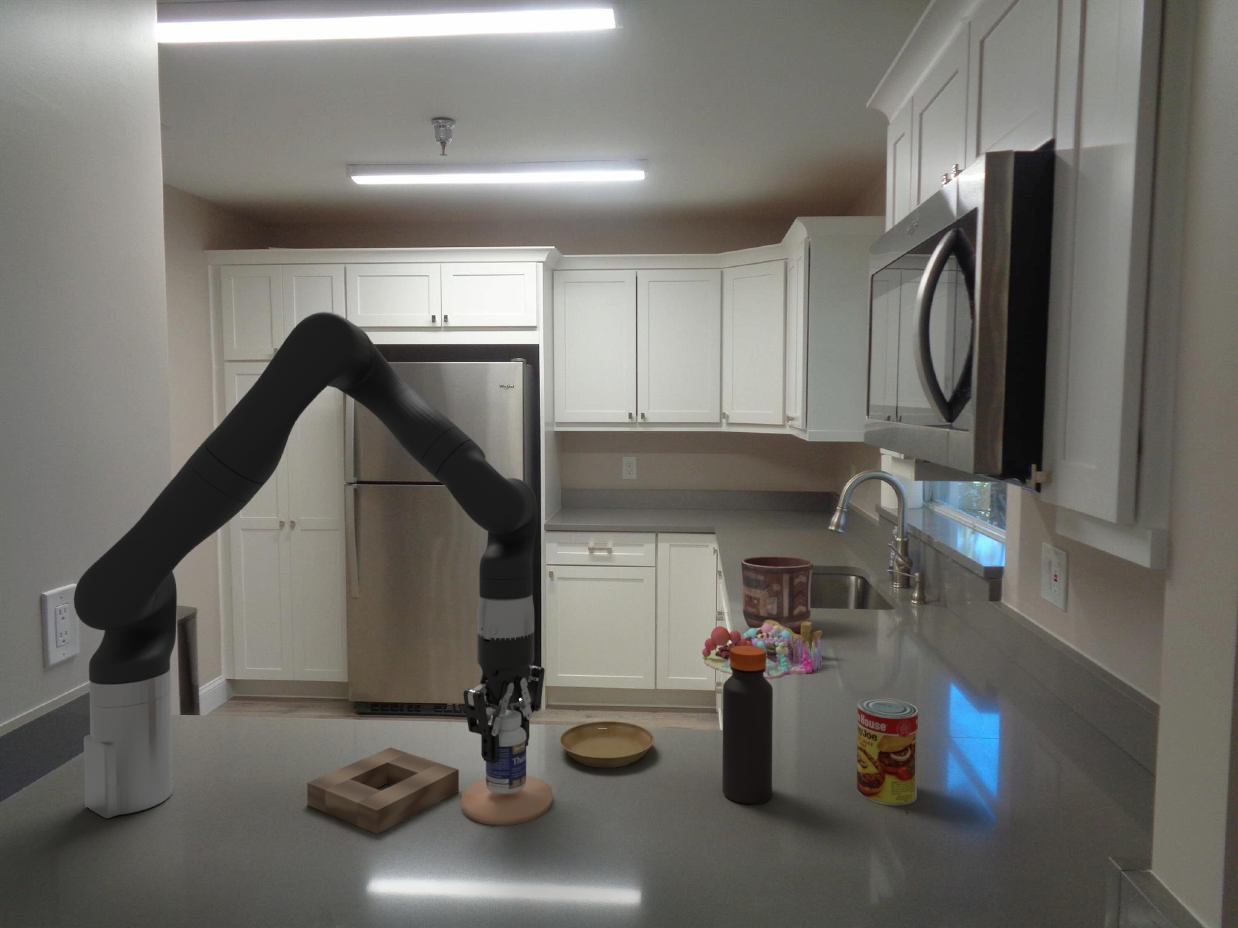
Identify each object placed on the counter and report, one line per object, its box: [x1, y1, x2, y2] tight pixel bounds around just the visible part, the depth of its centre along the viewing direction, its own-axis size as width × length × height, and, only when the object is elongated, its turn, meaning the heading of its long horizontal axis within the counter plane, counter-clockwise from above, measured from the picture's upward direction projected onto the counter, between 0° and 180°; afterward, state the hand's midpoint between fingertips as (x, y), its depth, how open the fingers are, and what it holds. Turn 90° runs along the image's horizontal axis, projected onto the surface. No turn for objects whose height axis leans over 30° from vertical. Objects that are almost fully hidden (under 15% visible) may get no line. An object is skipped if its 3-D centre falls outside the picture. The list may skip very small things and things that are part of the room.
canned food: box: [856, 696, 919, 807], centre depth 106 cm, size 8×8×12 cm
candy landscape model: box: [701, 620, 823, 680], centre depth 168 cm, size 25×24×9 cm
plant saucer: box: [558, 720, 655, 769], centre depth 120 cm, size 15×15×3 cm
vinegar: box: [721, 646, 774, 805], centre depth 106 cm, size 7×7×20 cm
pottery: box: [741, 555, 814, 635], centre depth 194 cm, size 18×18×18 cm
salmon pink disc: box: [461, 774, 553, 826], centre depth 103 cm, size 12×12×1 cm
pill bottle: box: [485, 709, 527, 794], centre depth 103 cm, size 5×5×10 cm
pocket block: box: [306, 747, 460, 835], centre depth 105 cm, size 14×14×3 cm
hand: (506, 752), depth 103 cm, fingers closed on pill bottle, 5 cm apart
